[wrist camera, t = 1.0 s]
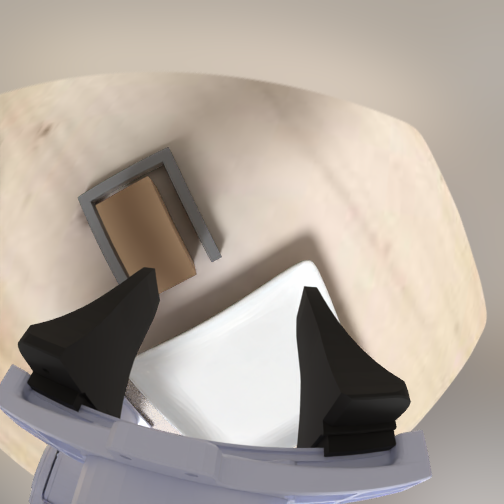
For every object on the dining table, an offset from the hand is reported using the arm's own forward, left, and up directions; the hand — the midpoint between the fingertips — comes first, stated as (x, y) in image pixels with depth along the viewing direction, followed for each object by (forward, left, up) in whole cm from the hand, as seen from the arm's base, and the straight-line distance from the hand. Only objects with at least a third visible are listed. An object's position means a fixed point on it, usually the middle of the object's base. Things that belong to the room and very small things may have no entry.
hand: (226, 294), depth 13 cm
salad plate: (-1, -15, -14) cm, 20 cm away
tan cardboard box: (-3, +4, -13) cm, 14 cm away
